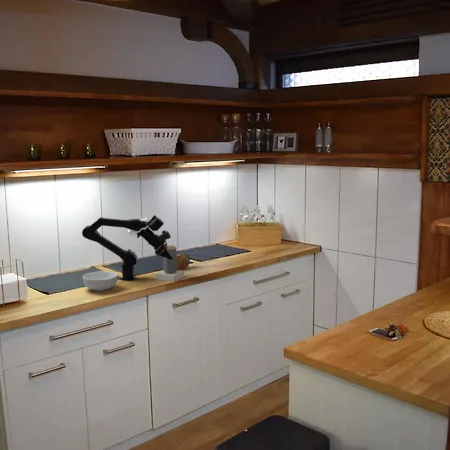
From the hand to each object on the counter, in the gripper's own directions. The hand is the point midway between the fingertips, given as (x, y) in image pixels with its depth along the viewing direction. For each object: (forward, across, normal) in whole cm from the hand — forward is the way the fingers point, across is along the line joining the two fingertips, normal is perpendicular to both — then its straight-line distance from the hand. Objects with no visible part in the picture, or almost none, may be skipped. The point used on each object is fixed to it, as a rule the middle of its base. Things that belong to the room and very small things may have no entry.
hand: (172, 257), depth 290 cm
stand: (+7, 0, +9) cm, 11 cm away
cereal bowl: (-17, -17, +33) cm, 41 cm away
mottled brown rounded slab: (+11, +19, +5) cm, 22 cm away
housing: (+4, 0, +6) cm, 7 cm away
